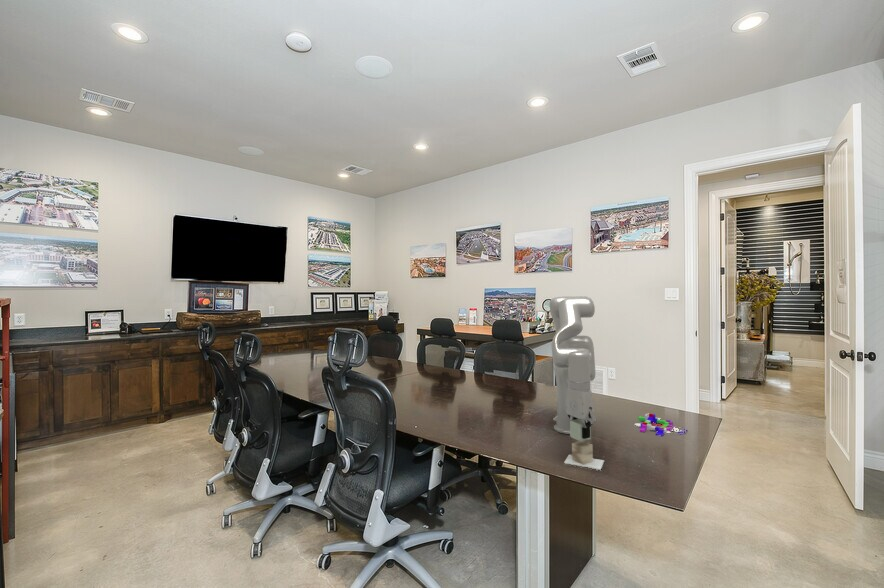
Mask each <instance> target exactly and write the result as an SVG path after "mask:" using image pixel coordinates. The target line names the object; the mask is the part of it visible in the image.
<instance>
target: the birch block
mask: <svg viewBox="0 0 884 588" xmlns="http://www.w3.org/2000/svg"><path fill="white" fill-rule="evenodd" d="M593 445H594V444H590V443H588V442H586V441H585V440H584V441H578V440H577V441H575V442H572V443H571V455H572V460H574V461H576V462H578V463H580V464H583V465H584V464H587V463H590V462H593V459H594V454H593V453H594V450H593Z"/></svg>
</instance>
